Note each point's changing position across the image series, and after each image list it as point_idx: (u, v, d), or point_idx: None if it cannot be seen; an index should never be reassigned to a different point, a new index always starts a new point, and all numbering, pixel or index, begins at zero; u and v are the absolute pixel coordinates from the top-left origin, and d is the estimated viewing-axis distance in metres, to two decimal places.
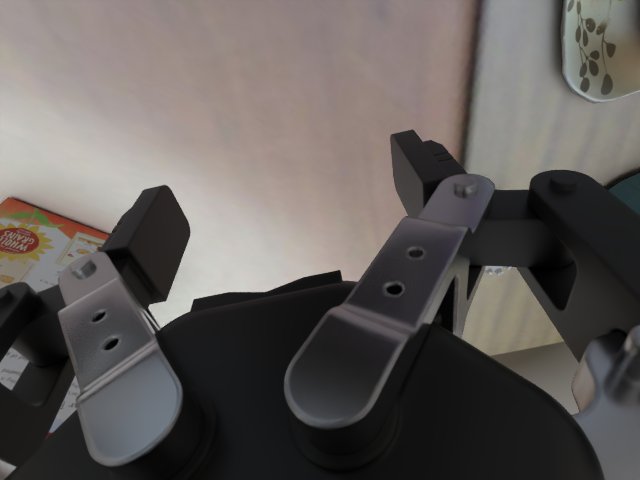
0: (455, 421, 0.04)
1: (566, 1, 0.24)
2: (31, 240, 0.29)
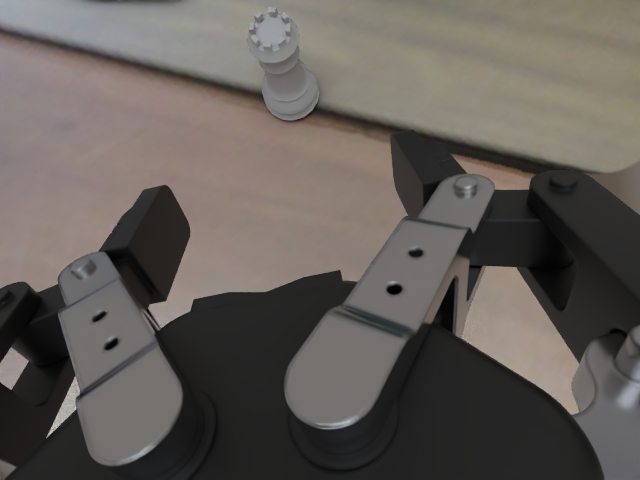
0: (455, 421, 0.04)
1: None
2: None
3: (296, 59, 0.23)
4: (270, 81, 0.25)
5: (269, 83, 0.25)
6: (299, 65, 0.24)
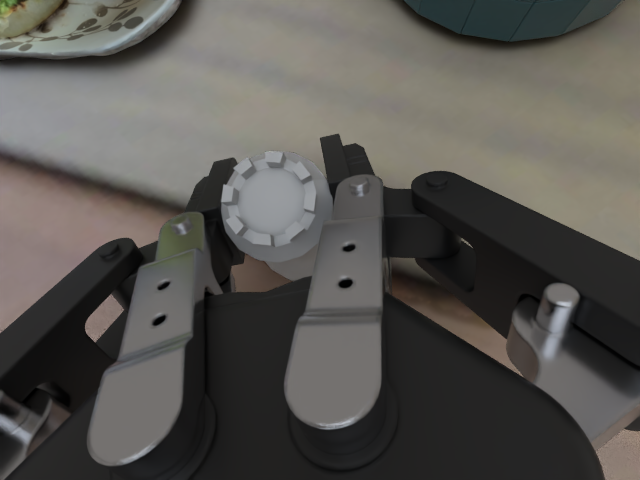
0: (455, 421, 0.04)
1: (14, 52, 0.18)
2: None
3: None
4: None
5: None
6: None
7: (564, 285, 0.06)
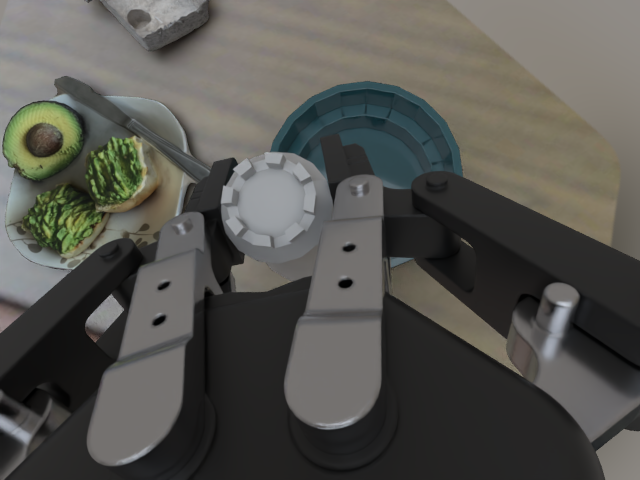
0: (455, 421, 0.04)
1: None
2: None
3: None
4: None
5: None
6: None
7: (564, 285, 0.06)
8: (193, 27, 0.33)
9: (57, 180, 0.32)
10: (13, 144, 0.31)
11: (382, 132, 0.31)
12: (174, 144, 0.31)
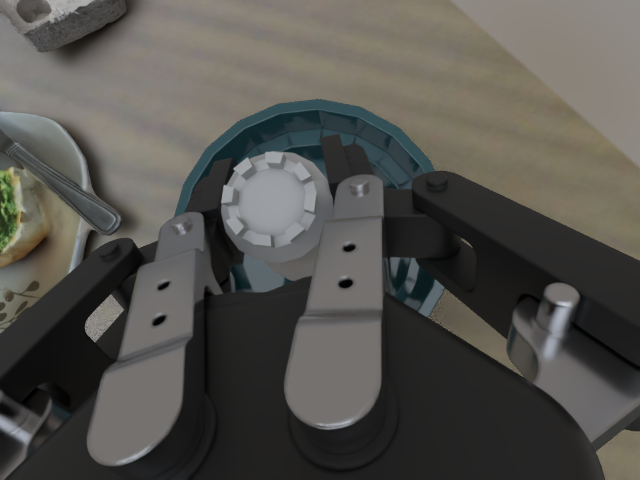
0: (455, 421, 0.04)
1: None
2: None
3: None
4: None
5: None
6: None
7: (565, 285, 0.06)
8: (103, 21, 0.25)
9: None
10: None
11: None
12: (68, 177, 0.23)
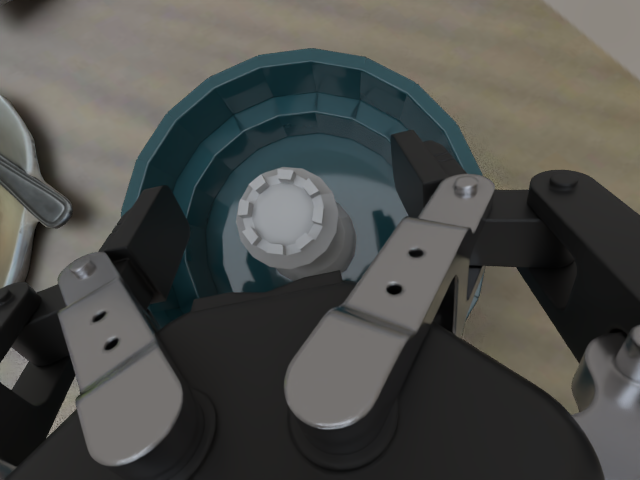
0: (455, 421, 0.04)
1: None
2: None
3: None
4: None
5: None
6: None
7: None
8: None
9: None
10: None
11: (349, 141, 0.18)
12: (10, 158, 0.19)
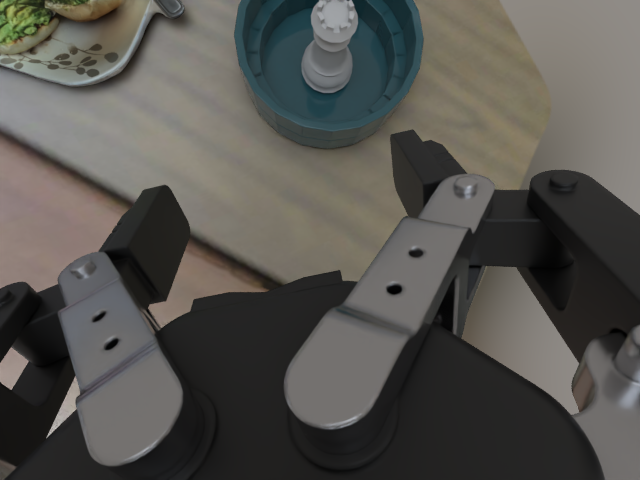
0: (455, 421, 0.04)
1: (11, 67, 0.29)
2: None
3: (347, 43, 0.26)
4: (317, 54, 0.27)
5: (314, 55, 0.28)
6: (346, 47, 0.27)
7: None
8: None
9: None
10: None
11: (359, 19, 0.32)
12: None
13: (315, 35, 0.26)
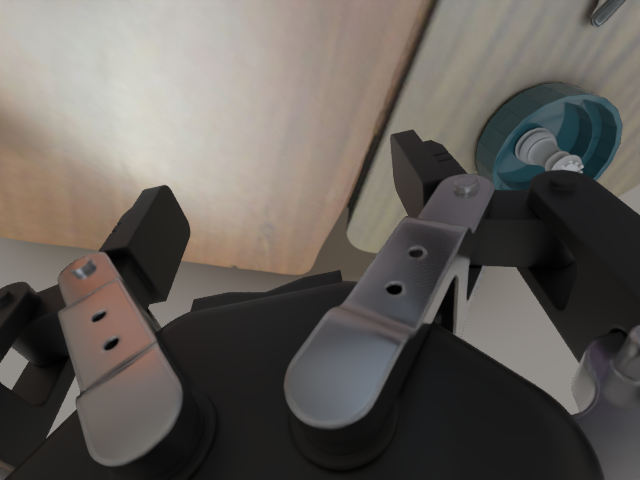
0: (455, 421, 0.04)
1: None
2: None
3: None
4: (544, 150, 0.41)
5: (544, 146, 0.41)
6: None
7: None
8: None
9: None
10: None
11: None
12: None
13: (557, 154, 0.39)
